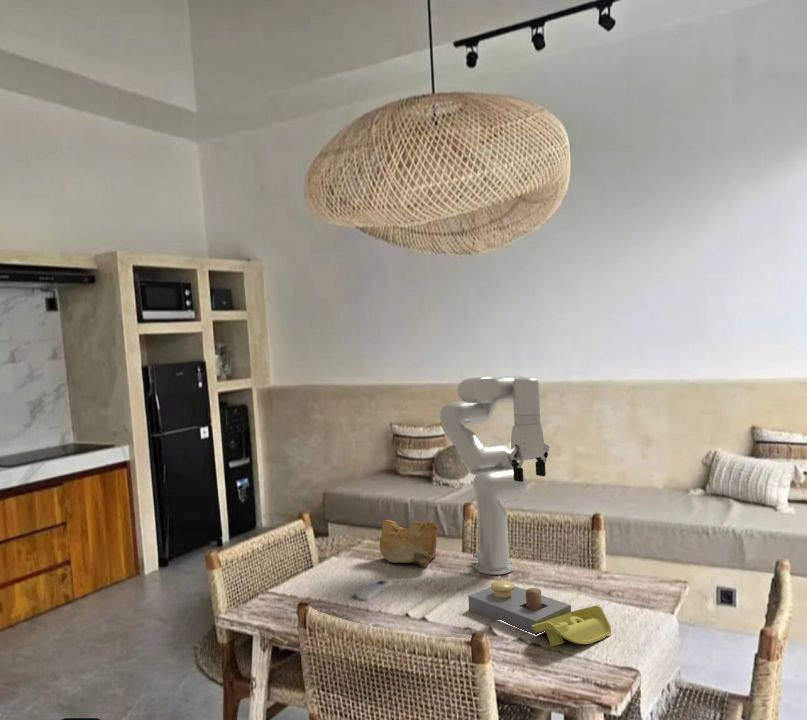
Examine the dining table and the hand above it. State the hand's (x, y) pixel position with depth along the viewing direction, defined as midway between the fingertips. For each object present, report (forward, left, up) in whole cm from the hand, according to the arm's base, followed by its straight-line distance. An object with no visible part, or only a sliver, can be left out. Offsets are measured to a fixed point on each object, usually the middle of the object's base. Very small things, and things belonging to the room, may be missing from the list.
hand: (529, 478), depth 195 cm
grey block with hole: (+8, -16, -33) cm, 38 cm away
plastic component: (+26, -17, -34) cm, 46 cm away
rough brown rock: (-47, -6, -34) cm, 58 cm away
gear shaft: (+14, -16, -33) cm, 39 cm away
